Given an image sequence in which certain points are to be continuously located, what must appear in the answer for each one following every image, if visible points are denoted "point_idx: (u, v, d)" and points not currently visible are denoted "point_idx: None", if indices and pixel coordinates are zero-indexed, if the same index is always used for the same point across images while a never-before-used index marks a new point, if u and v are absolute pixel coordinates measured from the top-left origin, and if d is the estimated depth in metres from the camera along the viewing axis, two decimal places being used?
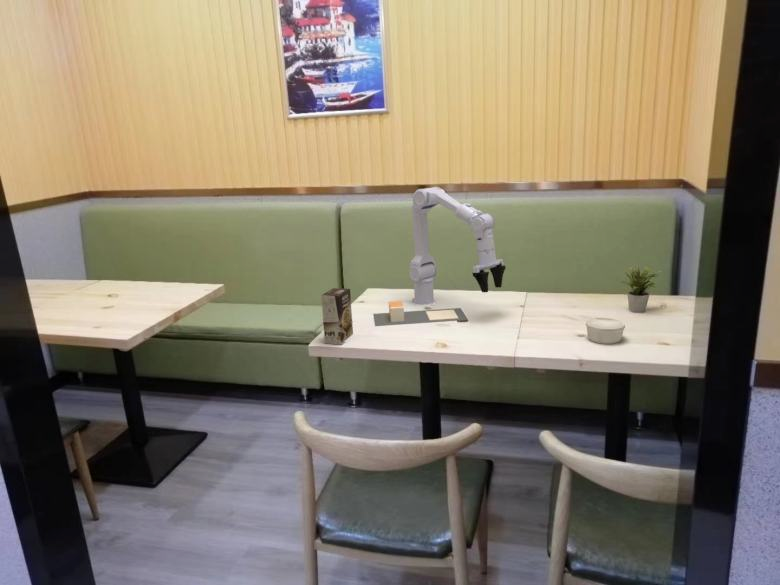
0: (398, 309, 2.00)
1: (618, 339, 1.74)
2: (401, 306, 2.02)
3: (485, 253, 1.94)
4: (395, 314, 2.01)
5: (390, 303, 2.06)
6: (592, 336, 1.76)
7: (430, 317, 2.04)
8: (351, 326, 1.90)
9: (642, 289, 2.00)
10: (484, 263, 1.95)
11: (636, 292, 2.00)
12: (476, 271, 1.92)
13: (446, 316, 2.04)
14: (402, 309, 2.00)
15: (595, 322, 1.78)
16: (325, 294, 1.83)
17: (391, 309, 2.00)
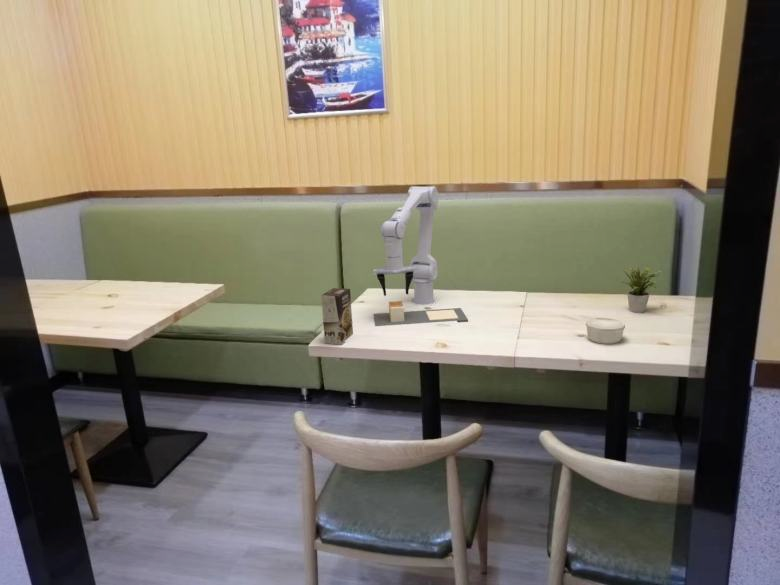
0: (398, 309, 2.00)
1: (618, 339, 1.74)
2: (401, 306, 2.02)
3: (387, 259, 1.98)
4: (395, 314, 2.01)
5: (390, 303, 2.06)
6: (592, 336, 1.76)
7: (430, 317, 2.04)
8: (351, 326, 1.90)
9: (642, 289, 2.00)
10: (386, 268, 2.00)
11: (636, 292, 2.00)
12: None
13: (446, 316, 2.04)
14: (402, 309, 2.00)
15: (595, 322, 1.78)
16: (325, 294, 1.83)
17: (391, 309, 2.00)
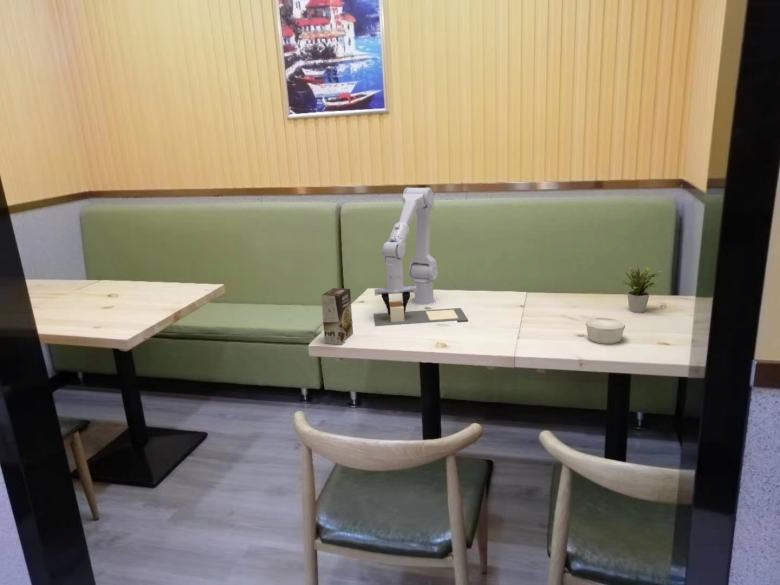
0: (398, 309, 2.00)
1: (618, 339, 1.74)
2: (401, 306, 2.02)
3: (388, 279, 2.00)
4: (395, 314, 2.01)
5: (390, 303, 2.06)
6: (592, 336, 1.76)
7: (430, 317, 2.04)
8: (351, 326, 1.90)
9: (642, 289, 2.00)
10: (387, 288, 2.02)
11: (636, 292, 2.00)
12: None
13: (446, 316, 2.04)
14: (402, 309, 2.00)
15: (595, 322, 1.78)
16: (325, 294, 1.83)
17: (391, 309, 2.00)
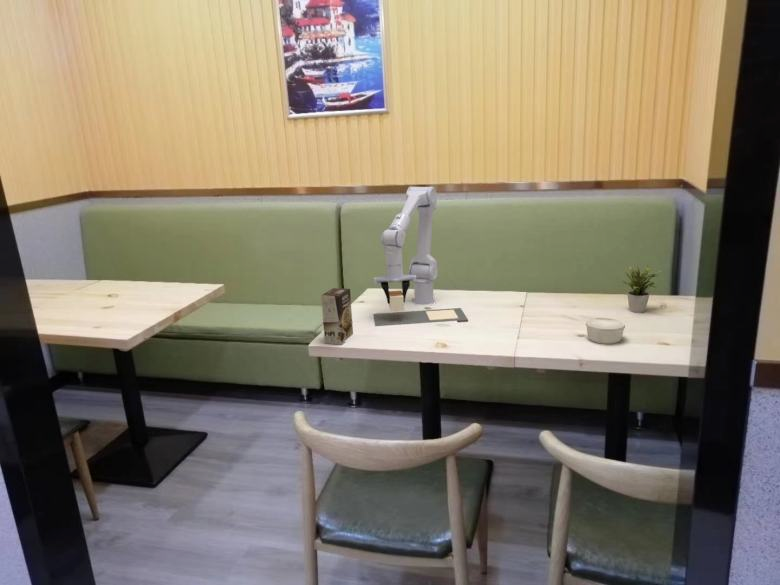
0: (398, 298, 1.99)
1: (618, 339, 1.74)
2: (401, 295, 2.01)
3: (387, 267, 1.99)
4: (395, 303, 2.00)
5: (390, 292, 2.05)
6: (592, 336, 1.76)
7: (430, 317, 2.04)
8: (351, 326, 1.90)
9: (642, 289, 2.00)
10: (386, 276, 2.01)
11: (636, 292, 2.00)
12: (374, 282, 2.01)
13: (446, 316, 2.04)
14: (402, 298, 1.99)
15: (595, 322, 1.78)
16: (325, 294, 1.83)
17: (391, 298, 1.99)
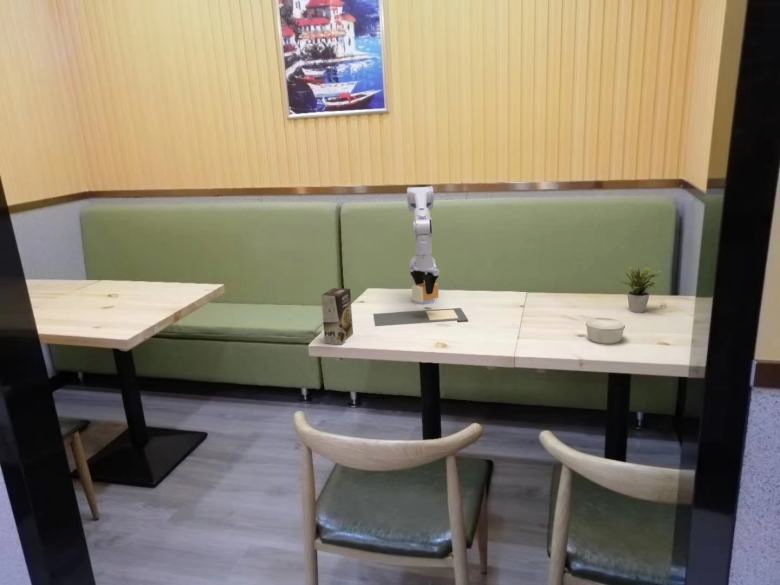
0: (416, 288, 2.01)
1: (618, 339, 1.74)
2: (422, 287, 2.00)
3: None
4: (414, 292, 2.02)
5: None
6: (592, 336, 1.76)
7: (430, 317, 2.04)
8: (351, 326, 1.90)
9: (642, 289, 2.00)
10: None
11: (636, 292, 2.00)
12: None
13: (446, 316, 2.04)
14: (419, 289, 2.00)
15: (595, 322, 1.78)
16: (325, 294, 1.83)
17: (412, 287, 2.02)
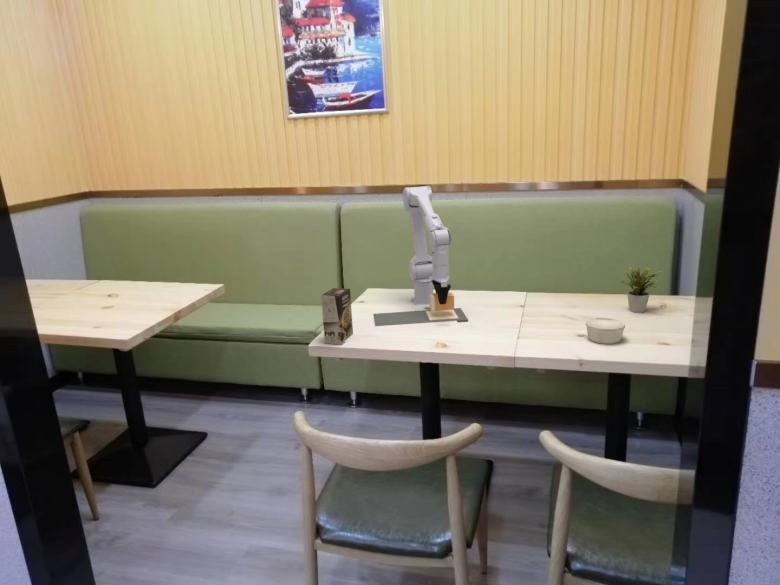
0: (430, 297, 2.04)
1: (618, 339, 1.74)
2: (435, 296, 2.02)
3: None
4: (430, 301, 2.05)
5: None
6: (592, 336, 1.76)
7: (430, 317, 2.04)
8: (351, 326, 1.90)
9: (642, 289, 2.00)
10: None
11: (636, 292, 2.00)
12: None
13: (446, 316, 2.04)
14: (431, 298, 2.02)
15: (595, 322, 1.78)
16: (325, 294, 1.83)
17: (429, 294, 2.06)
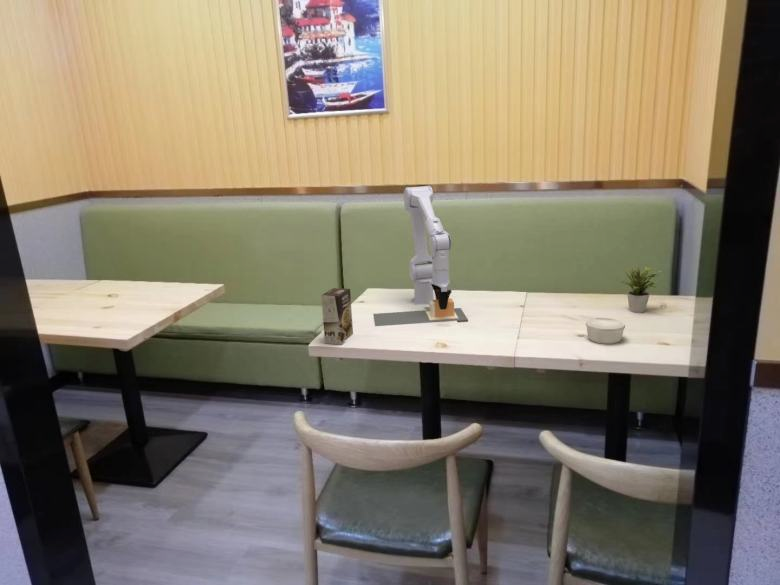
0: (430, 303, 2.04)
1: (618, 339, 1.74)
2: (435, 302, 2.03)
3: None
4: (430, 307, 2.06)
5: None
6: (592, 336, 1.76)
7: (430, 317, 2.04)
8: (351, 326, 1.90)
9: (642, 289, 2.00)
10: None
11: (636, 292, 2.00)
12: None
13: (446, 316, 2.04)
14: (431, 305, 2.03)
15: (595, 322, 1.78)
16: (325, 294, 1.83)
17: (429, 301, 2.07)
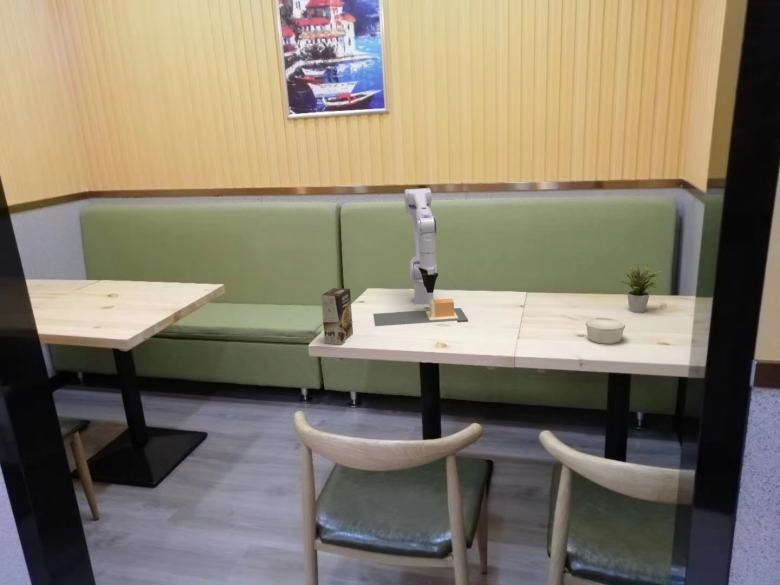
0: (430, 303, 2.04)
1: (618, 339, 1.74)
2: (435, 302, 2.03)
3: None
4: (430, 307, 2.06)
5: (446, 299, 2.07)
6: (592, 336, 1.76)
7: (430, 317, 2.04)
8: (351, 326, 1.90)
9: (642, 289, 2.00)
10: None
11: (636, 292, 2.00)
12: None
13: (446, 316, 2.04)
14: (431, 305, 2.03)
15: (595, 322, 1.78)
16: (325, 294, 1.83)
17: (429, 301, 2.07)
